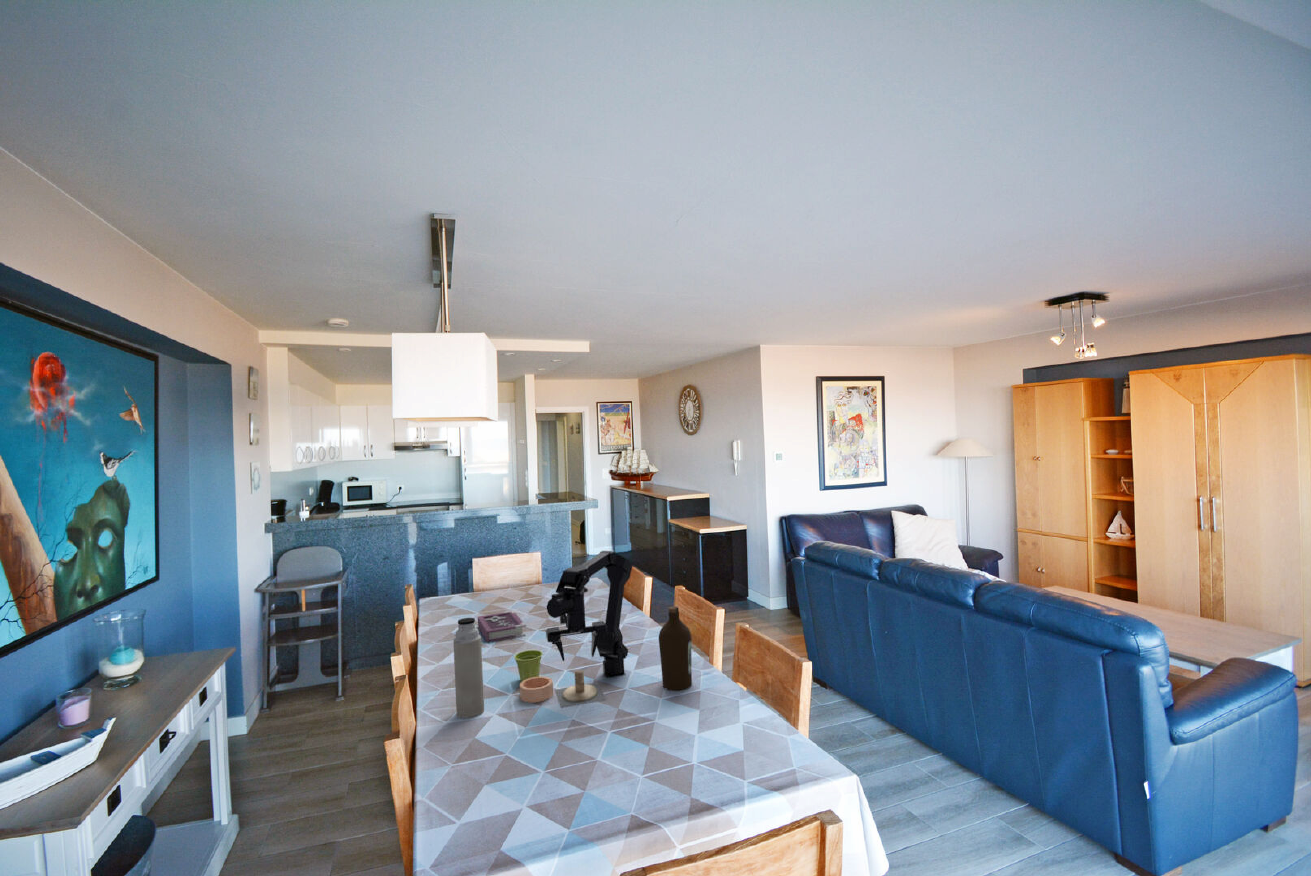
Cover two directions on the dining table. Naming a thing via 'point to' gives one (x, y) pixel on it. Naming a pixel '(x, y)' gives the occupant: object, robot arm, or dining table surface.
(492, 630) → the book
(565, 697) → the lid
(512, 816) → the dining table surface
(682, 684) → the olive oil
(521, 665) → the plant pot
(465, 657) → the thermos bottle
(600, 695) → the mat
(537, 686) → the bowl
